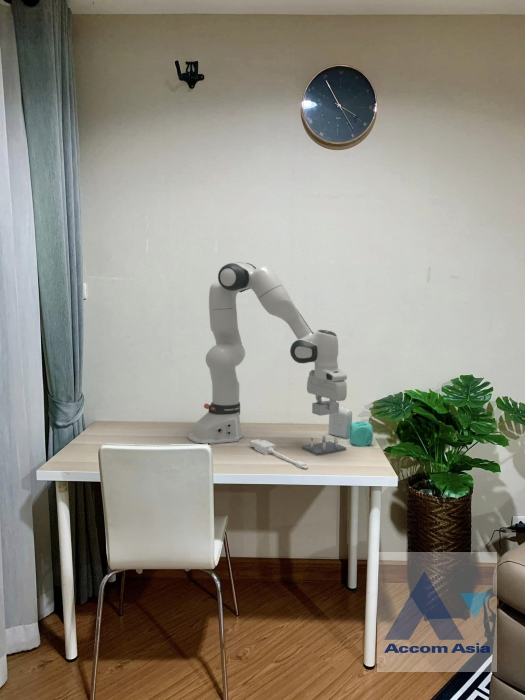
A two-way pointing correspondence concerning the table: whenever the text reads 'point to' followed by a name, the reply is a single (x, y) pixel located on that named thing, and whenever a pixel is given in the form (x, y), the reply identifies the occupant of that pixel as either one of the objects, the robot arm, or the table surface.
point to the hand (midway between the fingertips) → (325, 408)
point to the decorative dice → (361, 434)
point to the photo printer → (340, 423)
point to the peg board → (323, 447)
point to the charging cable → (272, 451)
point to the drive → (324, 408)
